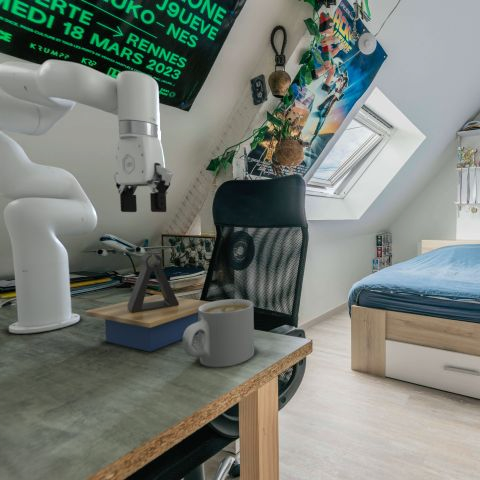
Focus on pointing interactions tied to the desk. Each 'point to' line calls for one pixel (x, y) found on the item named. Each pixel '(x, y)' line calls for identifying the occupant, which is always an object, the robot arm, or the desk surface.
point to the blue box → (148, 333)
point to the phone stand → (142, 283)
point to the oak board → (147, 312)
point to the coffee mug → (222, 333)
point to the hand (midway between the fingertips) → (143, 211)
